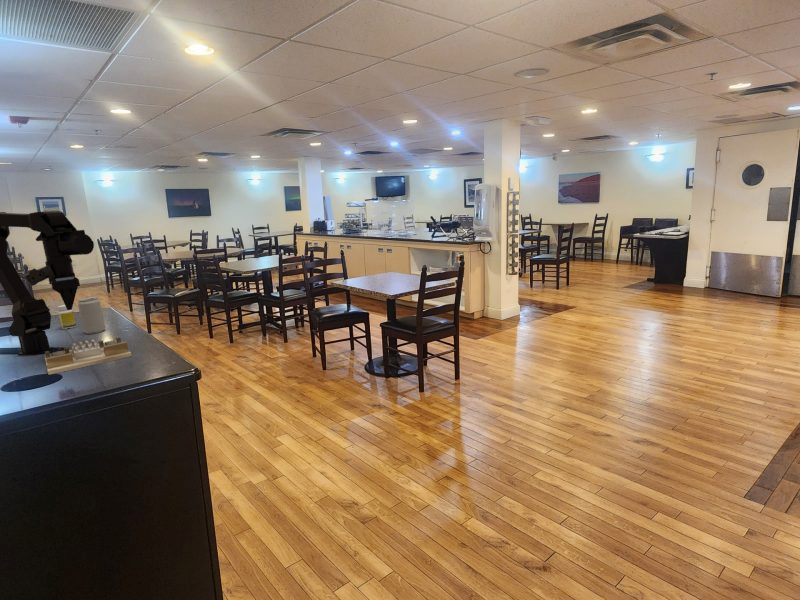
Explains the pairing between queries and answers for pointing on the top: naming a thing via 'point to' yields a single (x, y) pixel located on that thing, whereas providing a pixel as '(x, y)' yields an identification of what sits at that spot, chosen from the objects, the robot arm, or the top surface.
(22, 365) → the top surface
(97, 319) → the beverage can
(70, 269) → the robot arm
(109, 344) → the strap
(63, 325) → the supplement bottle
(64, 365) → the heatsink board
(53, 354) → the strap
